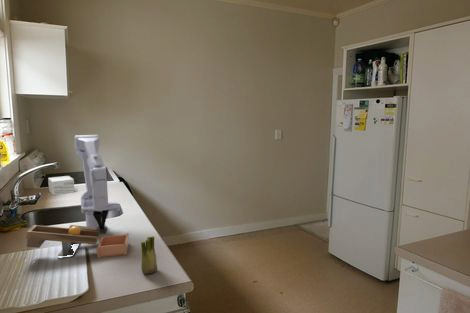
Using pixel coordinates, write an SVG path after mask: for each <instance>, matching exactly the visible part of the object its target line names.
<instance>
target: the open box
mask: <svg viewBox="0 0 470 313" xmlns="http://www.w3.org/2000/svg"><path fill="white" fill-rule="evenodd" d="M129 245H130V244H129V232H126V234H119V235H117V234H116V235H105V236H102V237H101V238H100V240H99V242H98V245H97V247H96V253H97V254H96V256H97V258H98V259H100V258H106V257H115V256H116V257H117V256H122V255H123V256H127V253H128V249H129Z"/></svg>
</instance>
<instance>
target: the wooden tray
mask: <svg viewBox="0 0 470 313" xmlns="http://www.w3.org/2000/svg"><path fill="white" fill-rule="evenodd" d="M73 226H77V227H79V228H80V234H79V235H69V229H70V228H71V227H73ZM107 232H108V226H106V227H105V228H104V229H99V226H97V227H87V226H86V225H84V226H83V225H77V224H75V225H74V224H70V226H69V227H62V226H61V227H60V226H47V225H41V224H40V225H37V224H34V225H32V226H31V227H30V228H29V229H28V230H27V231H26V237H25V239H26V240H27V241H26V242H27V243H26V248H38V249H39V248H40V247H41V246H43V244H44V243H45V242H46V241H49V242H51V241H52V242H61V243H62V242H72V243H81V244H86V245H94V246H95V245H96V244H97V243H98V240H99V238H100V235H106V234H107Z"/></svg>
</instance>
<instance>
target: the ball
mask: <svg viewBox="0 0 470 313" xmlns="http://www.w3.org/2000/svg"><path fill="white" fill-rule="evenodd" d="M77 226H78V225H76V226H73V227H71V228H70V229H69V235H79V234H80V228H79V227H77Z"/></svg>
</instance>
